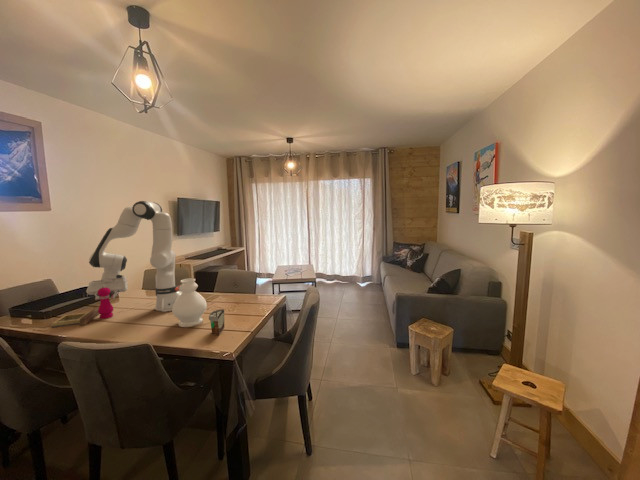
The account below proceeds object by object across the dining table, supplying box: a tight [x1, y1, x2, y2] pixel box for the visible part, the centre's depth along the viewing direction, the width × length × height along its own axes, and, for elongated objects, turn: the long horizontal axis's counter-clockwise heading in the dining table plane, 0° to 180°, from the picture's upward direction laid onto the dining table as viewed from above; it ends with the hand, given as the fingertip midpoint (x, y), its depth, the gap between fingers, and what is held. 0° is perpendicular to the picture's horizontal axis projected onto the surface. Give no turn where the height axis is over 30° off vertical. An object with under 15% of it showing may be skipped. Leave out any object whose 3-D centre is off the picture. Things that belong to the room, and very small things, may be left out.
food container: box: [208, 308, 225, 336], centre depth 137 cm, size 12×6×10 cm, turn 5°
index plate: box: [51, 311, 90, 328], centre depth 154 cm, size 13×13×2 cm
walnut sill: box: [79, 306, 100, 327], centre depth 157 cm, size 2×20×4 cm, turn 20°
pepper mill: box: [98, 285, 114, 320], centre depth 158 cm, size 7×7×20 cm
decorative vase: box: [171, 277, 208, 328], centre depth 148 cm, size 18×18×25 cm
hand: (105, 298), depth 159 cm, fingers open, 6 cm apart
